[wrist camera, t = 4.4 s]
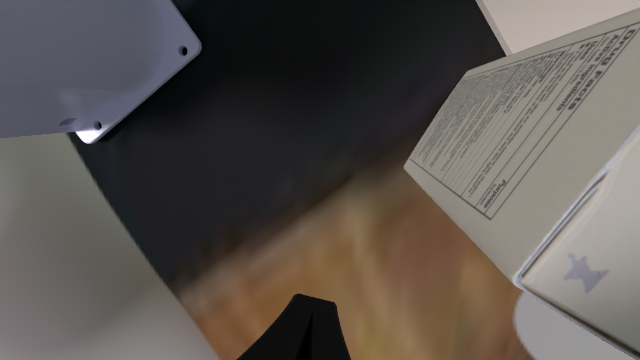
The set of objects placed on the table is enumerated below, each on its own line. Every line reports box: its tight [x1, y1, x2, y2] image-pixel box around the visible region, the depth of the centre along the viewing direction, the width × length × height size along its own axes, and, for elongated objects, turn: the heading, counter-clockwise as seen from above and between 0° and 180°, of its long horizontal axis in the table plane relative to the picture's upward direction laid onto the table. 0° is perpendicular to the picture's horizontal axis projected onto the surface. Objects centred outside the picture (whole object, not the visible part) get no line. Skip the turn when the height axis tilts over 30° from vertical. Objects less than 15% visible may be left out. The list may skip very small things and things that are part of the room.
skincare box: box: [404, 8, 640, 360], centre depth 11 cm, size 6×4×12 cm
